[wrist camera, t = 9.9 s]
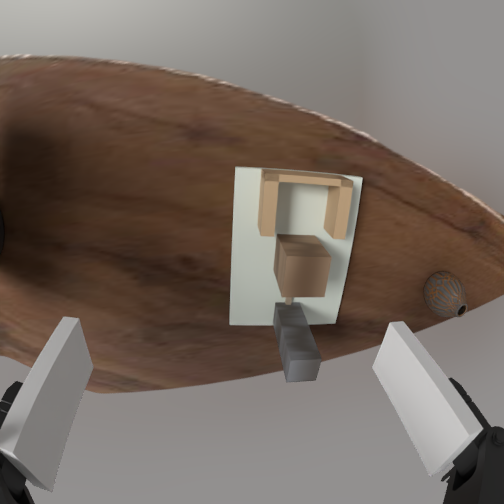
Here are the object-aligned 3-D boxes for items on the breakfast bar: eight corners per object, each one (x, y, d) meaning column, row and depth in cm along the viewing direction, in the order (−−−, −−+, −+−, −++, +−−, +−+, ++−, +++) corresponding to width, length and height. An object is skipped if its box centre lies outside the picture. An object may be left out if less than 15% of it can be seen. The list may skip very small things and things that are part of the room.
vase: (412, 300, 45) (438, 330, 37) (426, 263, 43) (457, 289, 35) (439, 302, 46) (465, 329, 38) (453, 267, 44) (483, 291, 36)
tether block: (267, 322, 43) (280, 382, 32) (276, 233, 38) (296, 278, 27) (301, 322, 44) (321, 379, 33) (314, 235, 38) (347, 278, 27)
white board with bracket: (229, 321, 44) (229, 342, 39) (235, 166, 35) (236, 171, 31) (333, 319, 45) (343, 339, 41) (359, 176, 37) (376, 183, 32)
